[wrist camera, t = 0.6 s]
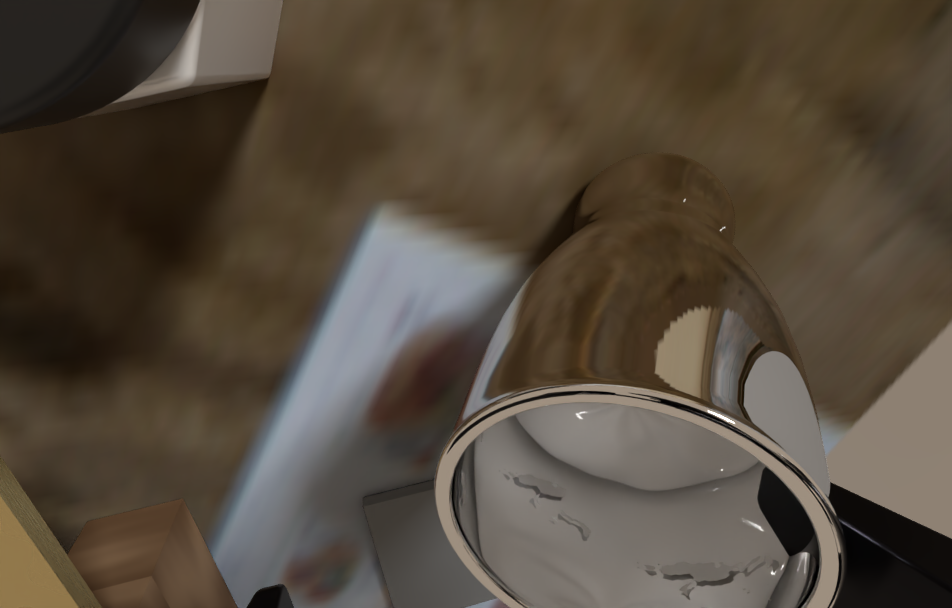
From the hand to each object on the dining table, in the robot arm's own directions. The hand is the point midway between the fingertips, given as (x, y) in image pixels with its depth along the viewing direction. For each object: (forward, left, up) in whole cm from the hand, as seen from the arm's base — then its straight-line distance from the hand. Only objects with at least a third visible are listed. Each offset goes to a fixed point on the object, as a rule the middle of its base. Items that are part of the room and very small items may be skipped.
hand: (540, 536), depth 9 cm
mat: (-15, +1, -14) cm, 21 cm away
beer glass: (+1, -9, -12) cm, 15 cm away
